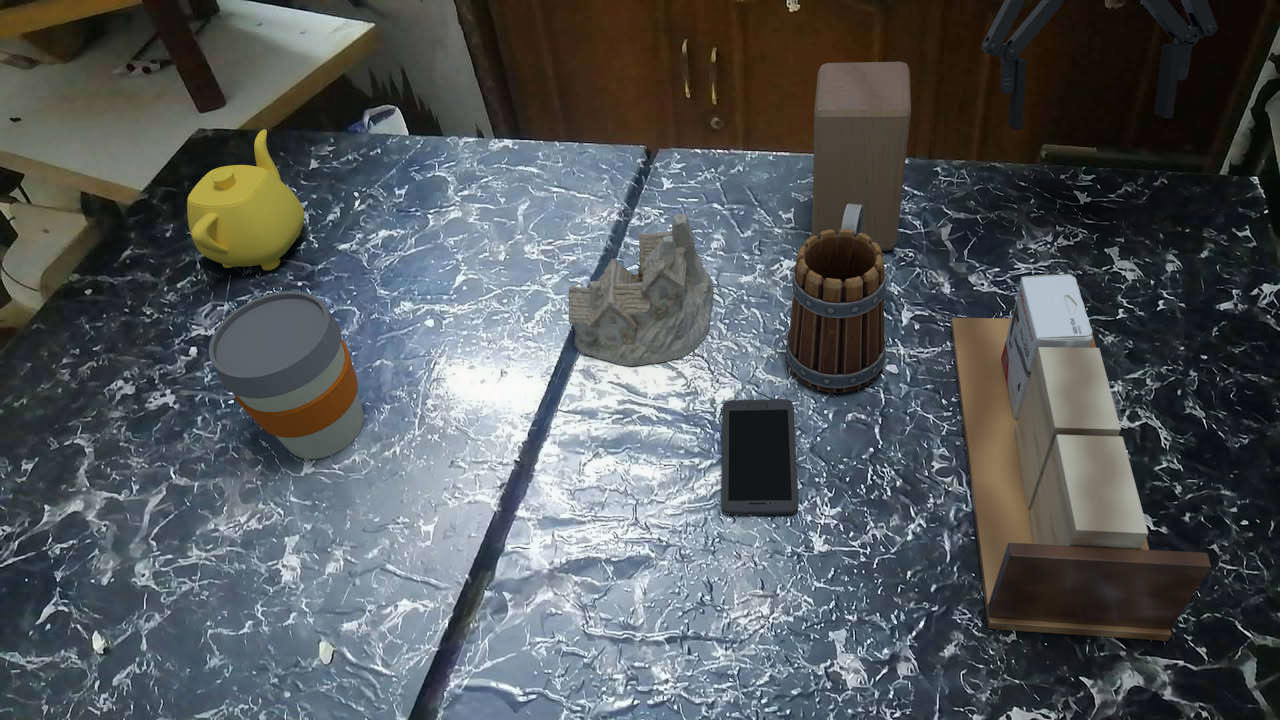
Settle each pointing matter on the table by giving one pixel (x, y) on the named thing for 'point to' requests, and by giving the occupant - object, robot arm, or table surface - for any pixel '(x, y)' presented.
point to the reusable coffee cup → (290, 372)
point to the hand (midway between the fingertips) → (1088, 122)
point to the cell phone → (759, 457)
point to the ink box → (1042, 327)
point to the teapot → (245, 213)
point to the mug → (838, 309)
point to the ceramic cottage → (646, 303)
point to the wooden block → (861, 146)
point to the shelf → (1060, 499)
